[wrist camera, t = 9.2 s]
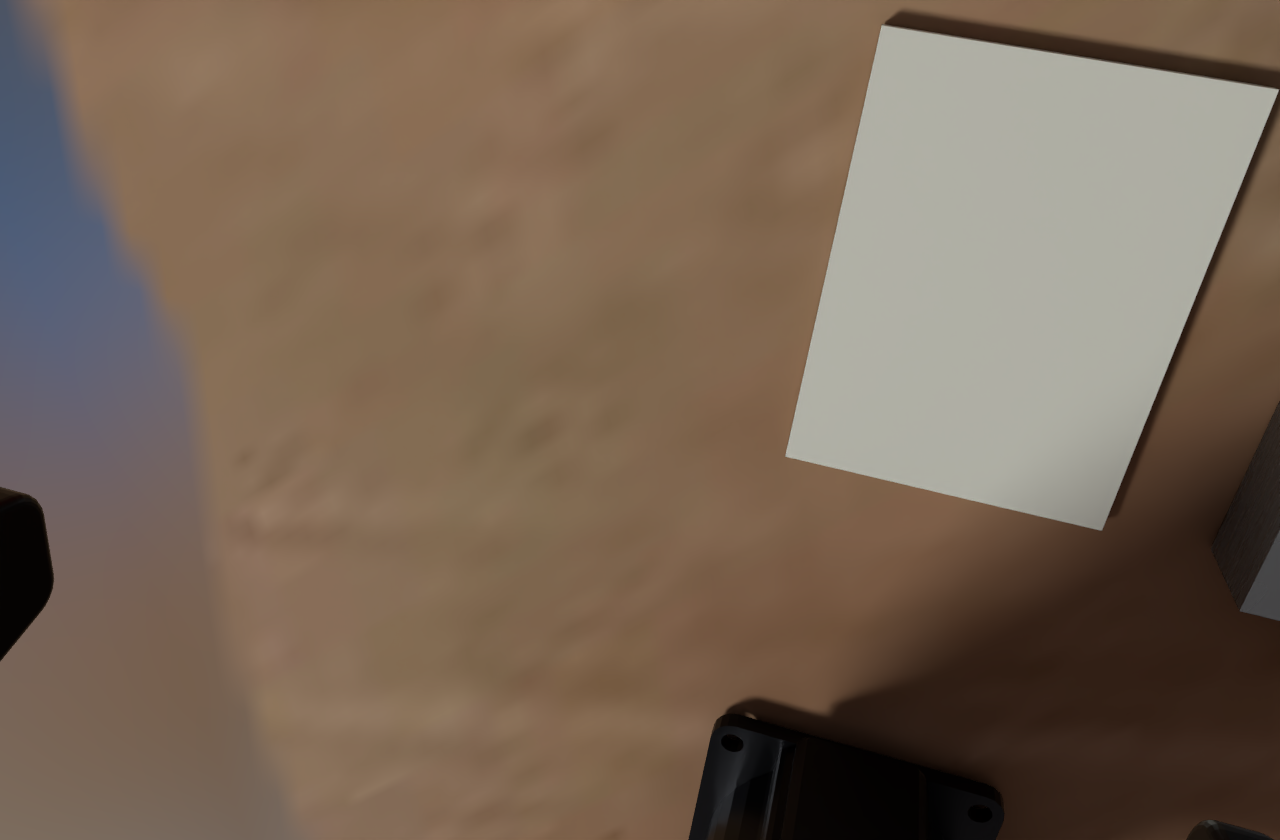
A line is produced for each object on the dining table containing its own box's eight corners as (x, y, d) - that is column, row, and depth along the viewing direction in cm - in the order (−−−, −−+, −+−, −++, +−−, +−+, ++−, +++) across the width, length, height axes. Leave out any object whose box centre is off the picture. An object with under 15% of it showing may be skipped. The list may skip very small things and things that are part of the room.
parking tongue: (1099, 522, 19) (1101, 530, 19) (787, 449, 20) (785, 456, 20) (1273, 87, 16) (1278, 89, 15) (882, 24, 17) (881, 25, 16)
